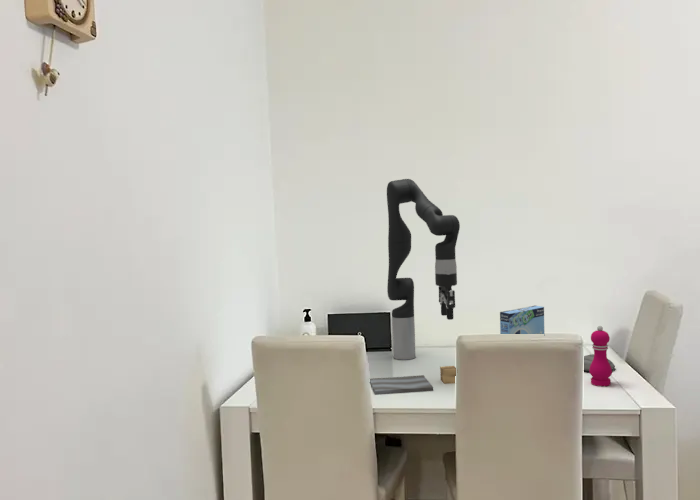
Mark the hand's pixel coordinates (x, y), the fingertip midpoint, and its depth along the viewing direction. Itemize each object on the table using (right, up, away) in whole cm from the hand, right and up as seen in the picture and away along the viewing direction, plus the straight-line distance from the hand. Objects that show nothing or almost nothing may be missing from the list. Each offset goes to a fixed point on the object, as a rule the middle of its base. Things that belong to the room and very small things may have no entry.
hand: (447, 317), depth 233 cm
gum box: (+31, -21, +14) cm, 40 cm away
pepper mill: (+51, -22, -9) cm, 56 cm away
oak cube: (+1, -23, +2) cm, 23 cm away
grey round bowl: (+56, -21, +12) cm, 61 cm away
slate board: (-17, -24, -2) cm, 29 cm away
